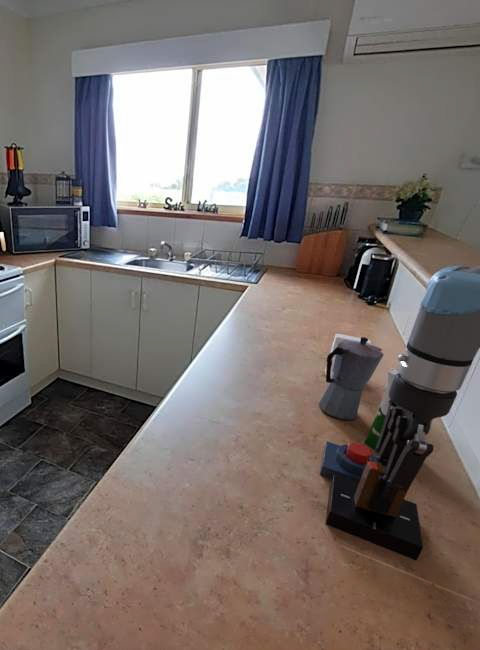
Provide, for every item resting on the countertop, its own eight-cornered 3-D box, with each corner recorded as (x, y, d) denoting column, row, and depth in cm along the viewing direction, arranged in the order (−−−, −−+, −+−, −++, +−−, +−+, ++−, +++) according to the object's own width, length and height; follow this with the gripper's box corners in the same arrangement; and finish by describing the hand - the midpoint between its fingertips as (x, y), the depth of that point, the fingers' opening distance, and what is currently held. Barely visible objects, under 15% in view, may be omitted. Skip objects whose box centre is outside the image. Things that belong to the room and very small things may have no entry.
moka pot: (375, 416, 98) (402, 342, 89) (328, 428, 92) (353, 350, 84) (343, 396, 106) (365, 327, 97) (298, 406, 100) (318, 333, 92)
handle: (392, 507, 67) (409, 469, 63) (395, 517, 65) (413, 479, 62) (353, 497, 69) (367, 459, 65) (355, 506, 67) (370, 468, 63)
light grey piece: (357, 372, 119) (369, 336, 114) (359, 386, 111) (372, 347, 106) (324, 365, 122) (335, 329, 117) (324, 378, 114) (335, 340, 109)
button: (368, 455, 78) (371, 447, 77) (368, 467, 75) (371, 458, 74) (345, 448, 80) (348, 439, 79) (345, 459, 77) (347, 451, 76)
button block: (382, 468, 80) (388, 453, 79) (383, 497, 73) (390, 481, 71) (323, 449, 85) (328, 434, 83) (319, 474, 78) (324, 458, 76)
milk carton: (423, 458, 84) (460, 375, 76) (393, 467, 81) (428, 382, 73) (385, 433, 91) (416, 355, 83) (356, 440, 88) (385, 361, 80)
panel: (410, 516, 69) (416, 502, 68) (416, 561, 61) (423, 547, 60) (329, 486, 75) (334, 473, 74) (325, 524, 67) (330, 511, 65)
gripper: (384, 354, 64) (344, 467, 74) (411, 402, 51) (358, 532, 61) (438, 363, 62) (390, 478, 72) (481, 415, 49) (414, 548, 59)
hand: (375, 503), depth 66 cm, fingers closed on handle, 2 cm apart
